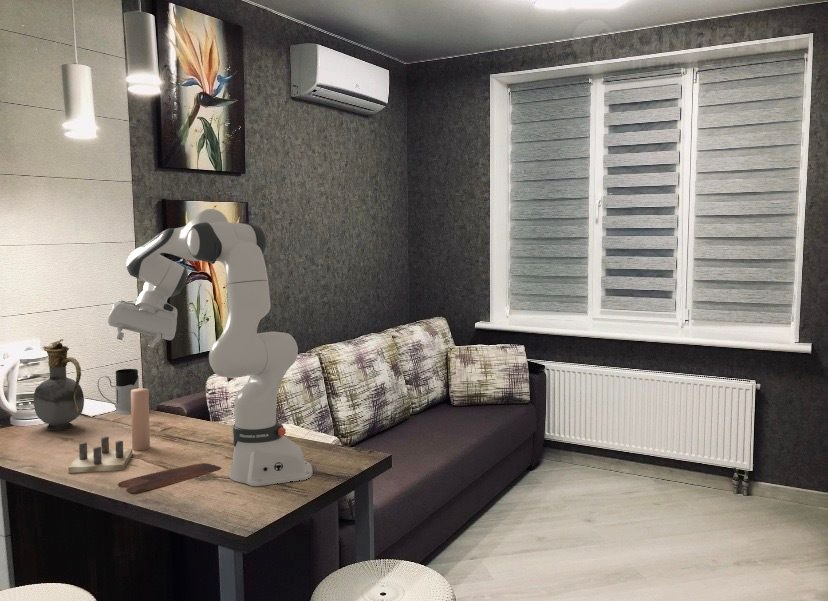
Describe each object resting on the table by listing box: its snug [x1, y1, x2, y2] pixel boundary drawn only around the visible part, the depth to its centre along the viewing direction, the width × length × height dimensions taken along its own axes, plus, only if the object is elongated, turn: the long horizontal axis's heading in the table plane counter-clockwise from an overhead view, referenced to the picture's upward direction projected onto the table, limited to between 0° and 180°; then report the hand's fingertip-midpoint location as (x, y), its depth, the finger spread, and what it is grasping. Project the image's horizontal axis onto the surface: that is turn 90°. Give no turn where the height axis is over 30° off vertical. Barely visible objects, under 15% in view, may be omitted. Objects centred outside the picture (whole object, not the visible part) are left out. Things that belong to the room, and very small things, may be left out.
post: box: [130, 387, 151, 451], centre depth 210 cm, size 5×5×18 cm
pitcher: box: [33, 338, 85, 432], centre depth 228 cm, size 11×19×30 cm, turn 61°
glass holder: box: [96, 368, 140, 415], centre depth 250 cm, size 9×14×15 cm, turn 119°
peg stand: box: [68, 436, 133, 474], centre depth 196 cm, size 14×14×6 cm
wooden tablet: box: [117, 462, 221, 495], centre depth 187 cm, size 26×2×10 cm
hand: (135, 342), depth 212 cm, fingers open, 8 cm apart
